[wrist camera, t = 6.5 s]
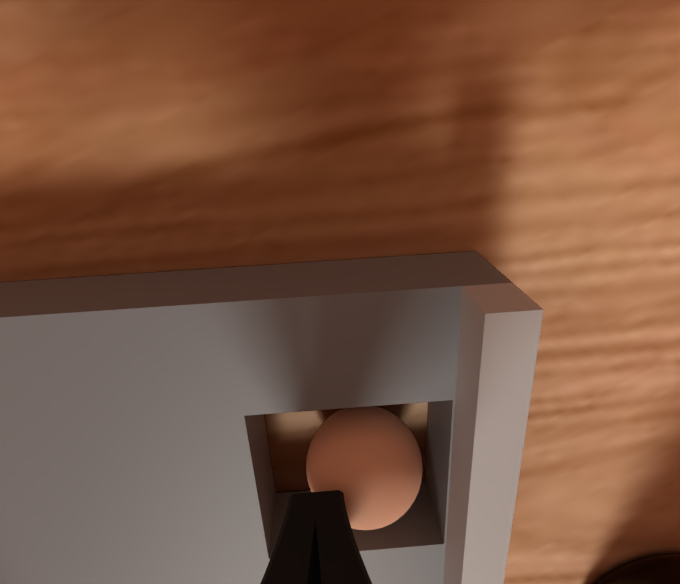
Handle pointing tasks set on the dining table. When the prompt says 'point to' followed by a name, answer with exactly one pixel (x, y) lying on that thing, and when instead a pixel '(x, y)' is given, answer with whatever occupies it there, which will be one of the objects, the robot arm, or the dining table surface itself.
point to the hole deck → (253, 414)
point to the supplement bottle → (647, 571)
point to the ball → (366, 464)
